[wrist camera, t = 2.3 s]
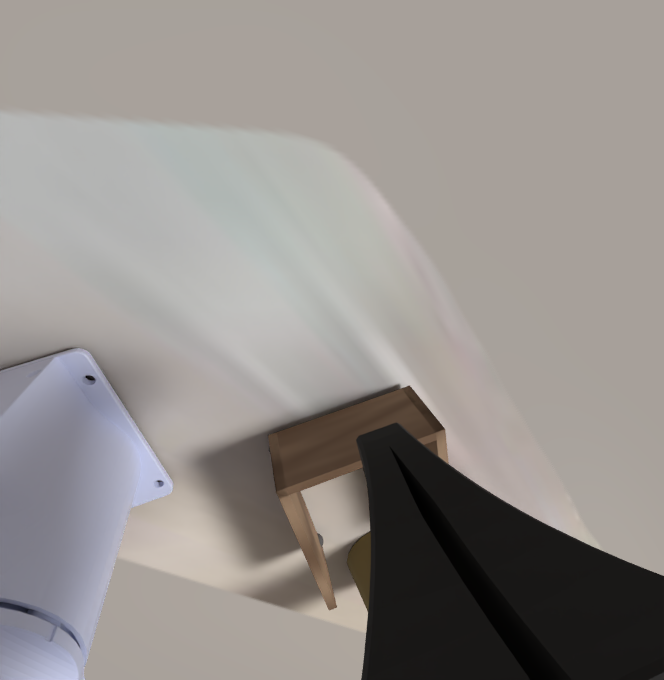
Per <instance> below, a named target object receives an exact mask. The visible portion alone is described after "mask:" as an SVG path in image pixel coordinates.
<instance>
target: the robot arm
mask: <svg viewBox="0 0 664 680" xmlns="http://www.w3.org/2000/svg"><path fill="white" fill-rule="evenodd" d="M85 375H91V376H93V377H94V378H95V380H94V381H91V380H88V379H87V378H86V376H85ZM356 442H357V446H358V450H359V454H360V458H361V461H362V465H363V469H364V473H365V477H366V480H367V488H368V496H369V510H370V530H371V568H370V592H369V609H368V621H367V632H366V643H365V653H364V663H363V671H362V679H361V680H664V576H662V575H659V574H657V573H654V572H652V571H649V570H647V569H644V568H641V567H639V566H637V565H634V564H632V563H629V562H627V561H624V560H622V559H619V558H617V557H615V556H613V555H610V554H608V553H606V552H604V551H601V550H599V549H597V548H594V547H592V546H590V545H588V544H586V543H584V542H582V541H580V540H577V539H575V538H573V537H571V536H569V535H567V534H565V533H563V532H561V531H559V530H557V529H555V528H553V527H551V526H548V525H546V524H544V523H542V522H541V521H539V520H537V519H535V518H533V517H531V516H529V515H528V514H526V513H524V512H522V511H520V510H518V509H517V508H515V507H513V506H512V505H510V504H508V503H506V502H505V501H503V500H501V499H500V498H498V497H496V496H495V495H493V494H492V493H490V492H488V491H487V490H485V489H484V488H482V487H481V486H479V485H478V484H476V483H475V482H473V481H472V480H470V479H469V478H467V477H466V476H464V475H463V474H461V473H460V472H459V471H457V470H456V469H454V468H453V467H452V466H450V465H449V464H448V463H446V462H445V461H444V460H442V459H441V458H440V457H438V456H437V455H436V454H434V453H433V452H432V451H431V450H429V449H428V448H427V447H426V446H425V445H423V444H422V443H421V442H420V441H418V440H417V439H416V438H415V437H414V436H413V435H412V434H410V433H409V432H408V431H407V430H406V429H405V428H404V427H403V426H402V425H401V424H399V423H397V422H396V423H393V424H390V425H387V426H385V427H382V428H379V429H376V430H373V431H371V432H368V433H365V434H362V435H359V436H358V438H357V439H356ZM157 480H161V481H162V482H157ZM172 490H173V482H172V480H171V478H170V477H169V475H168V474H167V472H166V471H165V469H164V468H163V466H162V464H161V463H160V461H159V460H158V458H157V457H156V455H155V453H154V452H153V450H152V449H151V447H150V446H149V444H148V443H147V441H146V439H145V438H144V436H143V435H142V433H141V432H140V430H139V429H138V427H137V425H136V424H135V422H134V421H133V419H132V418H131V416H130V415H129V413H128V411H127V410H126V408H125V407H124V405H123V404H122V402H121V401H120V399H119V397H118V396H117V394H116V393H115V391H114V390H113V388H112V387H111V385H110V383H109V382H108V380H107V379H106V377H105V376H104V374H103V372H102V371H101V369H100V368H99V366H98V365H97V363H96V362H95V360H94V358H93V357H92V355H91V354H90V353H89V352H88V351H86V350H84V349H81V348H74V349H70V350H67V351H64V352H60V353H57V354H54V355H50V356H47V357H44V358H41V359H37V360H34V361H31V362H27V363H24V364H21V365H17V366H14V367H11V368H7V369H4V370H1V371H0V680H85V678H84V667H85V664H86V661H87V658H88V655H89V651H90V648H91V644H92V641H93V637H94V634H95V630H96V627H97V624H98V620H99V617H100V613H101V610H102V606H103V603H104V599H105V596H106V592H107V589H108V585H109V582H110V578H111V575H112V572H113V568H114V565H115V561H116V558H117V554H118V551H119V548H120V544H121V541H122V537H123V534H124V530H125V527H126V523H127V520H128V516H129V513H130V509H131V508H133V507H135V506H138V505H141V504H144V503H147V502H149V501H152V500H155V499H158V498H161V497H163V496H166V495H168V494H170V493H171V492H172Z"/></svg>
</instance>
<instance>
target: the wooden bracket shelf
mask: <svg viewBox="0 0 664 680" xmlns="http://www.w3.org/2000/svg"><path fill="white" fill-rule="evenodd" d="M396 422H397V423H399V424H401V425H402V426H403V427H404V428H405V429H406V430H407V431H408V432H409V433H410V434H412V435H413V436H414V437H415V438H416V439H417V440H418V441H420V442H421V443H422V444H423V445H425V446H426V447H427V448H428V449H429V450H431V451H432V452H433V453H434V454H436V455H437V456H438V457H440V458H441V459H442V460H444V461H445V462H446V463H448V454H447V444H446V434H445V429H444V427H443V426H442V425H441V424H440V422H439V421H438V420H437V419H436V417H435V416H434V415H433V414H432V412H431V411H430V410H429V409H428V408H427V406H426V405H425V404H424V403H423V401H422V400H421V399H420V398H419V396H418V395H417V394H416V393H415V391H414V390H413V389H412V388H411V387H410V386H407V387H405V388H402V389H399V390H396V391H393V392H390V393H387V394H385V395H382V396H379V397H376V398H373V399H370V400H367V401H365V402H362V403H359V404H356V405H353V406H350V407H348V408H345V409H342V410H339V411H336V412H333V413H330V414H328V415H325V416H322V417H319V418H316V419H313V420H310V421H308V422H305V423H302V424H299V425H296V426H293V427H290V428H288V429H285V430H282V431H279V432H276V433H273V434H270V435H268V438H269V445H270V446H269V452H270V454H271V460H272V467H273V474H274V481H275V488H276V493H277V495H278V497H279V500H280V502H281V504H282V506H283V509H284V511H285V513H286V515H287V518H288V520H289V522H290V524H291V526H292V529H293V531H294V533H295V535H296V538H297V540H298V542H299V544H300V547H301V549H302V551H303V553H304V555H305V558H306V560H307V562H308V564H309V567H310V569H311V571H312V573H313V576H314V578H315V580H316V582H317V585H318V587H319V589H320V591H321V593H322V596H323V598H324V600H325V602H326V605H327V607H328V609H329V610H331V609H334V608H336V607H337V605H336V601H335V597H334V593H333V589H332V585H331V581H330V576H329V572H328V568H327V564H326V560H325V556H324V551H323V547H322V545H323V538H322V536H321V535H320V534H318V533H317V532H316V530H315V527H314V524H313V522H312V519H311V517H310V514H309V512H308V509H307V507H306V504H305V502H304V499H303V497H302V494H301V492H300V491H301V490H304V489H307V488H309V487H312V486H315V485H317V484H320V483H323V482H325V481H328V480H331V479H334V478H336V477H339V476H342V475H344V474H347V473H350V472H352V471H355V470H358V469H360V468H363V465H362V461H361V458H360V454H359V450H358V446H357V442H356V439H357V438H358V436H359V435H362V434H365V433H368V432H371V431H373V430H376V429H379V428H382V427H385V426H387V425H390V424H393V423H396Z"/></svg>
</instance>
